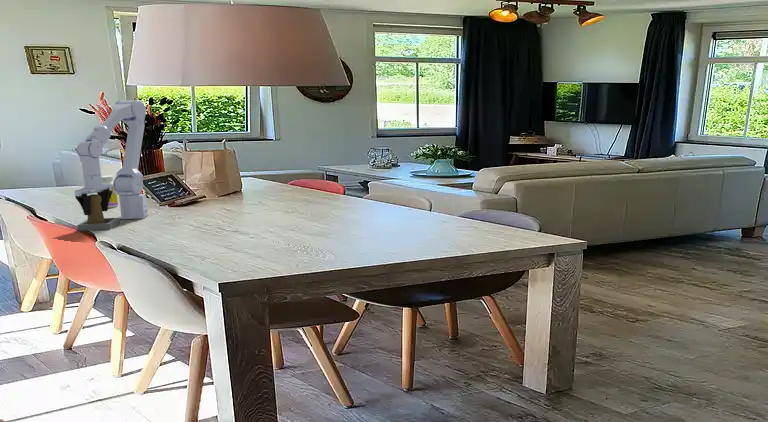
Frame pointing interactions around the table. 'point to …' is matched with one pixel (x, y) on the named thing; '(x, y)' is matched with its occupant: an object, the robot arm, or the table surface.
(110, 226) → the socket holder
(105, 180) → the supplement bottle
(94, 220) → the cork
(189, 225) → the table surface
